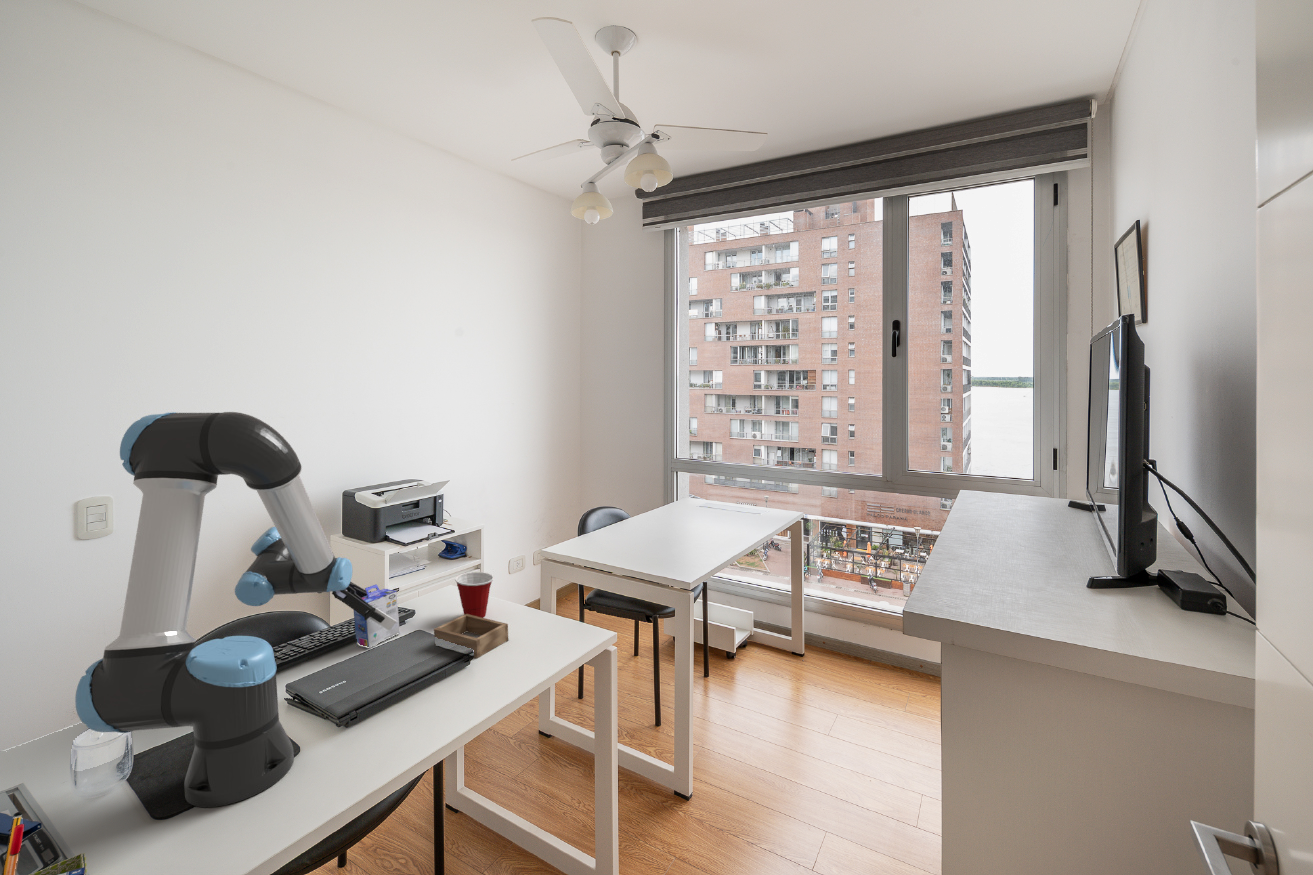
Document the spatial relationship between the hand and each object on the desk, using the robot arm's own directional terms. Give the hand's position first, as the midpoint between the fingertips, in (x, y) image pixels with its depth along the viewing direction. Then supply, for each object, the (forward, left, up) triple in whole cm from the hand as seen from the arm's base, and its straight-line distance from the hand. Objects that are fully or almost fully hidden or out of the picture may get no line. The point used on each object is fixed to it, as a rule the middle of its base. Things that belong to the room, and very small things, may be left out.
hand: (390, 619), depth 151 cm
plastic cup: (+1, -23, -5) cm, 23 cm away
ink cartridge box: (0, +3, -5) cm, 6 cm away
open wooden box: (-16, -17, -5) cm, 24 cm away
